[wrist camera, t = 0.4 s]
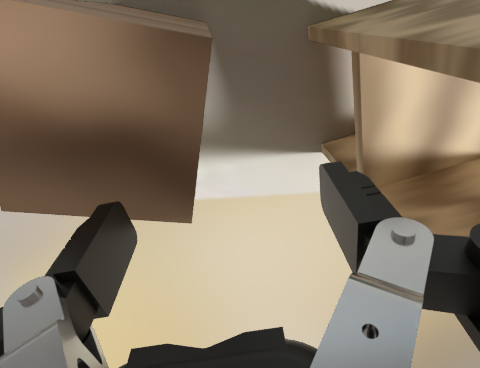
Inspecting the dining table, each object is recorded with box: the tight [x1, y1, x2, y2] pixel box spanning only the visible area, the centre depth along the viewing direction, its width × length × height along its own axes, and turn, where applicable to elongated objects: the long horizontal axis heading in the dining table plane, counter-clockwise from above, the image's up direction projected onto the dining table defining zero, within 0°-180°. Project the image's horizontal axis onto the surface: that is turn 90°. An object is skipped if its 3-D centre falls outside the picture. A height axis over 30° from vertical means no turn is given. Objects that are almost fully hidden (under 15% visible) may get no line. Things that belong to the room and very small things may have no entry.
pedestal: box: [0, 0, 212, 223], centre depth 19 cm, size 8×8×20 cm
